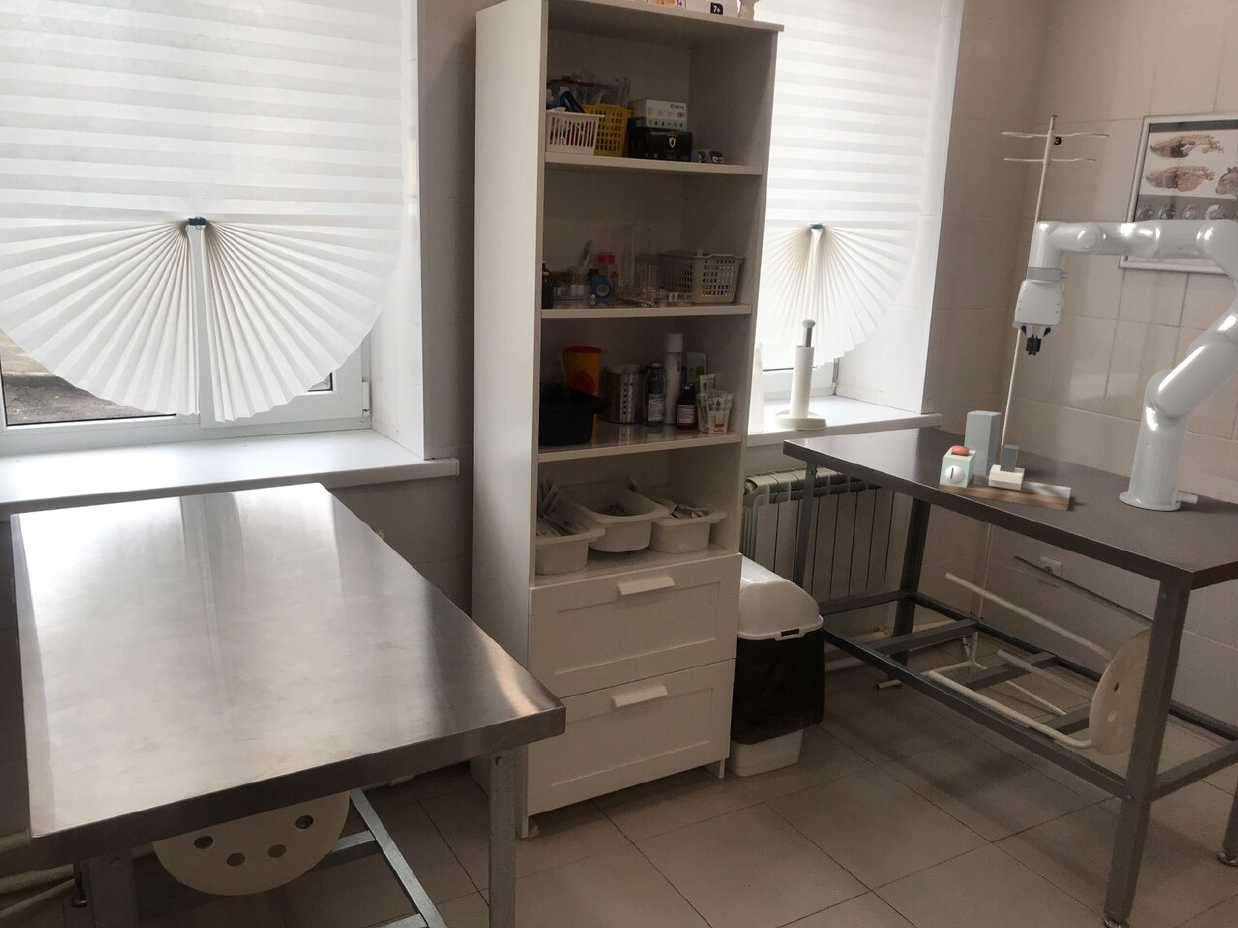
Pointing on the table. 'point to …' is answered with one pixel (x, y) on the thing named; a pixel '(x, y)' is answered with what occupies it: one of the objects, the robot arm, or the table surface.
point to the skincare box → (983, 439)
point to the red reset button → (960, 450)
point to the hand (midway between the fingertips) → (1032, 354)
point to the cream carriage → (1007, 470)
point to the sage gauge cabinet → (957, 469)
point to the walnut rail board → (1015, 493)
